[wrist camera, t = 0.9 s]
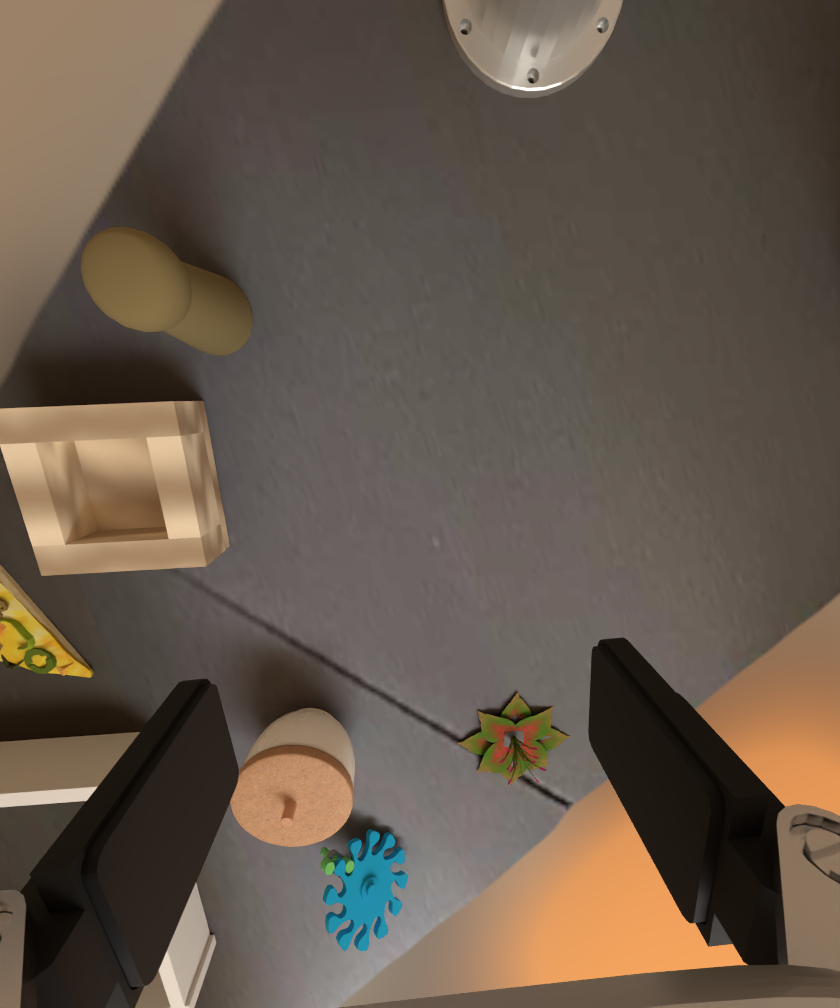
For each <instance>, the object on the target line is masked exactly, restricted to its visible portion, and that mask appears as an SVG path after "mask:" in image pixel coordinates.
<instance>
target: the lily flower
mask: <svg viewBox="0 0 840 1008" xmlns="http://www.w3.org/2000/svg"><path fill="white" fill-rule="evenodd" d="M552 709H553V707H551V708H550V709H548V710H546V711H544V712H543V713H539V714H538V715H536V716H532V715H531V711H530V709H529V708H528V706H527V705H526V704H525V702H524V701H523V700H522V699H520V698H519V695H518V693H517V694H516V695H515V697H514V698H513V699H512V701H511V703H509V704H508V706H507V707H506V708H505V710H504V711H503V712H502V714H501V716H500V717H497V716H493V715H489V714H483V713H482V712H479V711H478V714H479V718H480V722H481V730H482V731H481V732H479V733H477V734H476V735H474V736H472V737H470V738H468V739H466V740H465V741H464V742H460V743H458V744H459V745H462V746H463V747H464V748H468V750H469V751H471V752H472V753H474V754H478V755H484V757H483V759H482V762H481V764H480V769H478V771H477V772H480V771H481V772H488V771H490V772H492V773H498V772H501V774H502V775H503V776H504V777H505V778H506V779H507V780H510V781H509V782H508V784H510V783H511V785H512V783H513V782H514V781H515V780H516V779H517V777H520V776H521V775H522V774H523V773H524V772H525V770H526V769H530V770H532V769H537V768H540V769H541V770H544V771H546V769H544V768H541V767H542V766H544V767H548V765H547V764H548V761H547V760H548V755H547V752H546V751H548V750H551V749H554V748H555V747H557V746H558V745H559V744H561V743H562V742H563V740H564V739H567V738H569V736H566V735H565V734H561V732H559V731H557V730H555V729H552V728H551V720H552V716H551V712H552ZM515 713H516V715H517V716H518V717H519V719H520V720H521V721H520V722H518V723H517V724H516V725H515V724H514V723H513V722H512V721H510V720H511V718H512V717H513V715H515ZM509 731H524V743H522V742H521V741H519V740H518V739H517V738H516V737H515V738H514V739H513V738H512V739H511V743H510V746H509V747H504V735H505V732H509ZM544 736H552V738H547V739H544V740H543V741H542V742H537V741H535V740H538V739H541V738H543V737H544ZM485 739H486V740H487V741H489V742H493V743H494V744H493V745H491V744H490V743H488V742H486V741H484V740H485ZM517 741H518V742H519V743H521V744H519V743H518V742H517ZM512 745H513V747H512ZM519 745H520V746H519ZM512 761H513V767H511V763H512ZM530 770H529V771H530ZM530 772H531V771H530ZM531 774H532V773H531ZM532 775H533V774H532ZM534 778H535V777H534ZM535 779H536V778H535ZM522 780H523V778H522ZM536 781H537V779H536ZM537 782H538V781H537ZM538 783H539V782H538ZM523 789H524V788H523Z"/></svg>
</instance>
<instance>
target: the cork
mask: <svg viewBox="0 0 840 1008" xmlns="http://www.w3.org/2000/svg"><path fill="white" fill-rule="evenodd" d="M81 272H82V277H83V281H84V284H85V286H86V288H87V290H88V292H89V294H90V296H91V297H92V299H93V301H94V303H95V304H96V305H97V306H98V307H99V308H100V309H101V310H102V311H103V312H104V313H105V314H106V315H108V316H109V317H111V318H112V319H114V320H115V321H117V322H119V323H120V324H122V325H123V326H125V327H129V328H132V329H136V330H139V331H144V332H158V331H164V332H166V333H168V334H169V335H171V336H173V337H175V338H177V339H179V340H181V341H183V342H184V343H186V344H188V345H190V346H192V347H194V348H196V349H198V350H200V351H201V352H203V353H207V354H211V355H214V356H220V355H228V354H231V353H233V352H236V351H238V350H239V349H240V348H241V347H242V346H243V345H244V344H245V343H246V341H247V340H248V338H249V336H250V334H251V330H252V323H253V318H252V311H251V306H250V304H249V302H248V300H247V297H246V295H245V294H244V293H243V292H242V291H241V289H240V288H239V287H238V286H237V285H236V284H235V283H233V282H232V281H230V280H229V279H227V278H226V277H223V276H221V275H218V274H215V273H212V272H209V271H207V270H204V269H201V268H198V267H195V266H193V265H190V264H187V263H184V262H182V261H180V260H179V258H178V257H177V256H176V255H175V254H174V253H173V251H172V250H171V249H170V248H169V247H168V246H167V245H165V244H164V243H162V242H161V241H159V240H158V239H156V238H155V237H153V236H152V235H150V234H149V233H146V232H143V231H140V230H137V229H134V228H129V227H111V228H109V229H106V230H104V231H102V232H99V233H97V234H95V235H94V237H93V238H92V239H91V240H90V241H89V242H88V243H87V244H86V246H85V249H84V251H83V254H82V258H81Z"/></svg>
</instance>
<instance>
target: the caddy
mask: <svg viewBox="0 0 840 1008" xmlns="http://www.w3.org/2000/svg"><path fill="white" fill-rule="evenodd" d="M0 447H1V450H2V453H3V456H4V459H5V462H6V465H7V469H8V472H9V475H10V478H11V481H12V484H13V487H14V490H15V493H16V497H17V500H18V503H19V506H20V509H21V512H22V515H23V518H24V522H25V525H26V528H27V531H28V534H29V537H30V540H31V543H32V547H33V550H34V553H35V556H36V559H37V562H38V565H39V568H40V572H41V575H42V576H46V575H63V574H81V573H98V572H116V571H133V570H150V569H168V568H185V567H203V566H207V565H209V564H210V563H211V562H212V561H213V560H214V559H216V558H217V557H218V556H219V555H220V554H221V553H223V552H224V551H225V550H226V549H227V548H228V547H230V545H229V539H228V533H227V528H226V522H225V517H224V511H223V506H222V500H221V495H220V489H219V483H218V478H217V472H216V467H215V461H214V456H213V450H212V445H211V439H210V433H209V428H208V422H207V417H206V411H205V406H204V401H169V402H145V403H122V404H99V405H76V406H53V407H30V408H7V409H0Z"/></svg>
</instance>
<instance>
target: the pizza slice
mask: <svg viewBox="0 0 840 1008" xmlns="http://www.w3.org/2000/svg"><path fill="white" fill-rule="evenodd" d="M0 661H3V663H4V665H5V666H6V667H8V668H11V669H13V668H17V667H19V666H21V667H24V668H27V669H30V670H32V671H33V672H36V673H39V674H46V673H55V674H62V675H63V676H64V675H73V676H81V677H91V676H92V675H93V670H92V669H91V668H90V667H89V665H88V664H87V663H86V662H85V661H84V660H83V658H82V657H81V656H80V655H79V654H78V653H77V652H76V650H75V649H74V648H73V647H72V646H71V645H70V644H69V642H68V641H67V640H66V639H65V638H64V637H63V636H62V634H61V633H60V632H59V631H58V630H57V629H56V628H55V626H54V625H53V624H52V623H51V622H50V621H49V620H48V618H47V617H46V616H45V615H44V614H43V613H42V612H41V610H40V609H39V608H38V607H37V606H36V605H35V604H34V602H33V601H32V600H31V599H30V598H29V597H28V596H27V594H26V593H25V592H24V591H23V590H22V589H21V588H20V586H19V585H18V584H17V583H16V582H15V581H14V580H13V578H12V577H11V576H10V575H9V574H8V573H7V572H6V570H5V569H4V568H3V567H2V566H1V565H0Z"/></svg>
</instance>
